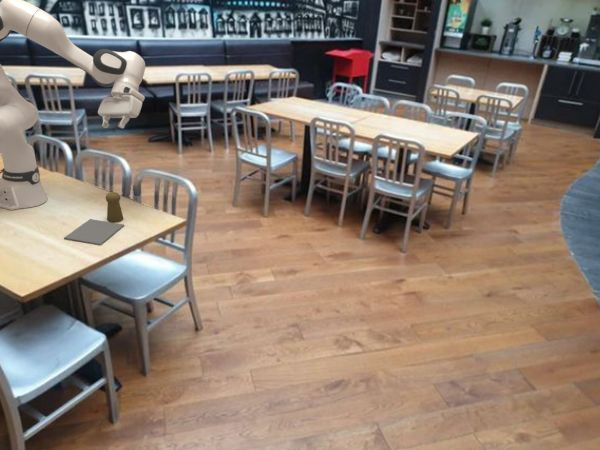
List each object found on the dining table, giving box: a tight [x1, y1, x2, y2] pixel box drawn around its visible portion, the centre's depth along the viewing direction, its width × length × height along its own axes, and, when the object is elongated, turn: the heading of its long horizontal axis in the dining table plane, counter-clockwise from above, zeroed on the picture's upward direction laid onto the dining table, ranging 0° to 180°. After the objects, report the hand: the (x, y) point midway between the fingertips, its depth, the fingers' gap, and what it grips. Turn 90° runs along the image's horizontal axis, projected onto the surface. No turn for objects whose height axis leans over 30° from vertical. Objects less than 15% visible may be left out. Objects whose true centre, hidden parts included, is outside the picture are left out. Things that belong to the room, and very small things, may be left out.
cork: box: [105, 191, 124, 223], centre depth 176 cm, size 6×6×11 cm
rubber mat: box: [63, 218, 125, 246], centre depth 168 cm, size 14×16×1 cm
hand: (112, 127), depth 170 cm, fingers open, 8 cm apart
